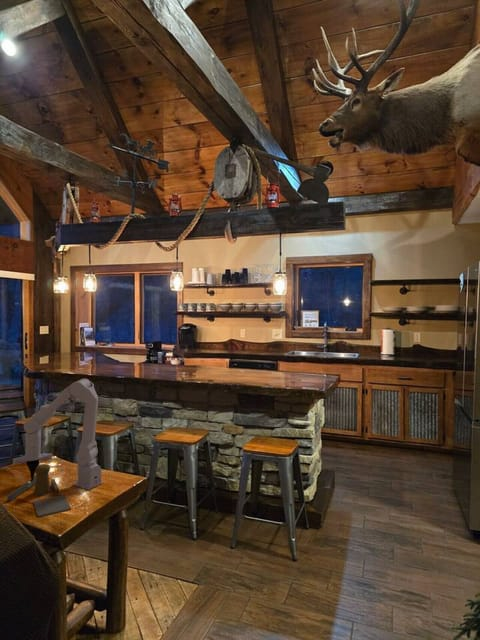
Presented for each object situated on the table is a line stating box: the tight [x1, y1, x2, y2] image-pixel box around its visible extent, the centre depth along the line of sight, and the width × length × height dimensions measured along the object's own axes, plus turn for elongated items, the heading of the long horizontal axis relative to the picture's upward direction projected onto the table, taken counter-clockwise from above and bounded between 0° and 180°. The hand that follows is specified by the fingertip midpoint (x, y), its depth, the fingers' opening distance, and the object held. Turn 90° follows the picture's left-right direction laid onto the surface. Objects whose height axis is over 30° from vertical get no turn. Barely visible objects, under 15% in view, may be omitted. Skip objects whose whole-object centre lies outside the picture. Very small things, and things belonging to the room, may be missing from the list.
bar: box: [6, 475, 37, 502], centre depth 164 cm, size 19×2×2 cm, turn 175°
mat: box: [32, 494, 72, 518], centre depth 152 cm, size 13×11×1 cm
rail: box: [50, 478, 60, 497], centre depth 166 cm, size 12×1×2 cm, turn 33°
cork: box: [33, 463, 51, 497], centre depth 163 cm, size 6×6×11 cm
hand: (32, 478), depth 172 cm, fingers closed, pressing on bar
